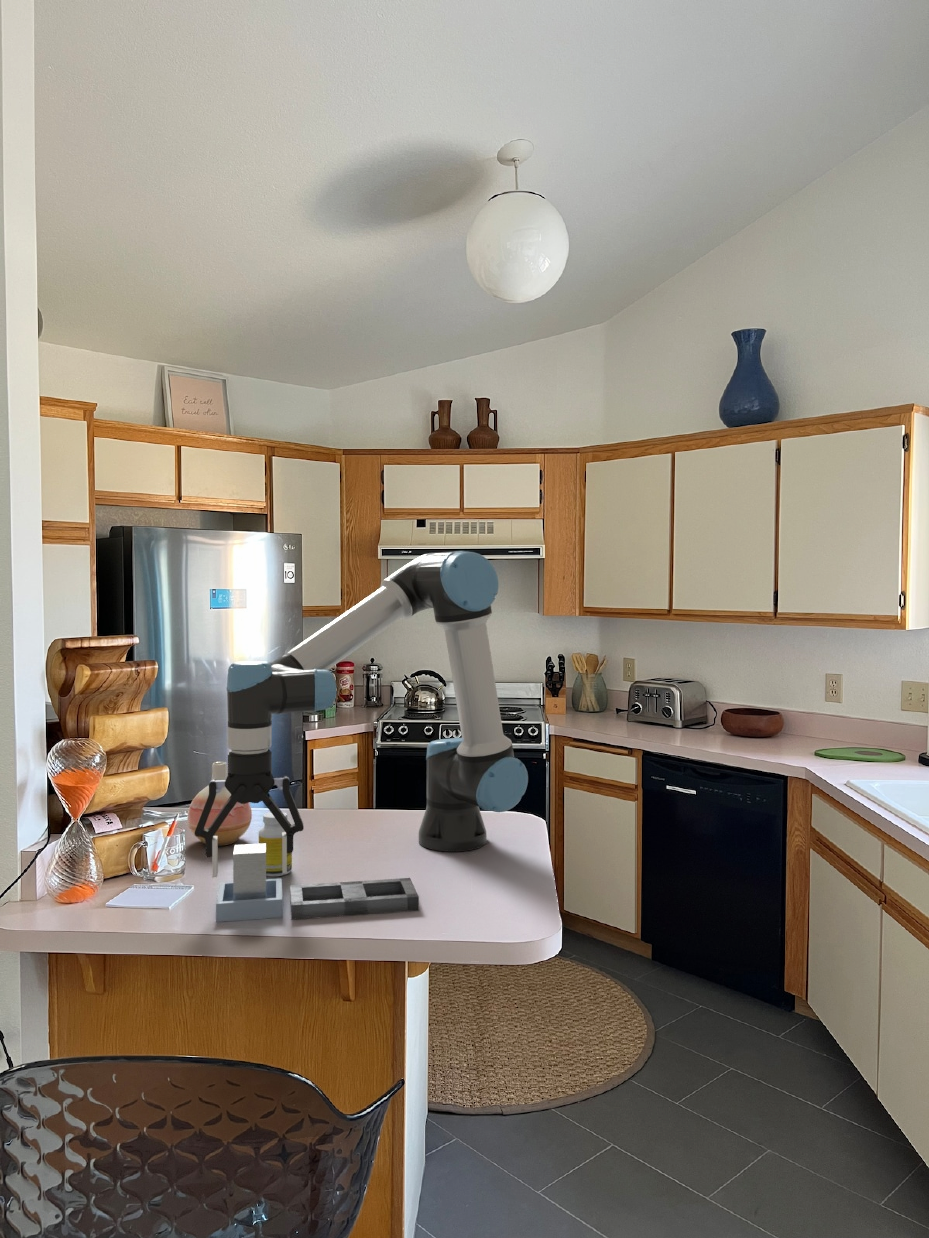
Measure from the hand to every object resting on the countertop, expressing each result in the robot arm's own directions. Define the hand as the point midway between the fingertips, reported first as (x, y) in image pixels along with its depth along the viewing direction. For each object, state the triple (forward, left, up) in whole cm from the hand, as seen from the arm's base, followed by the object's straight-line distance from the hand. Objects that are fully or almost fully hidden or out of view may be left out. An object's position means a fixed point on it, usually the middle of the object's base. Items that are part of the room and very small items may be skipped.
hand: (250, 872), depth 156 cm
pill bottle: (-4, -18, -6) cm, 20 cm away
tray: (0, 0, -6) cm, 6 cm away
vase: (+7, -41, -6) cm, 43 cm away
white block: (0, 0, -6) cm, 6 cm away
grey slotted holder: (-18, +2, -6) cm, 19 cm away
